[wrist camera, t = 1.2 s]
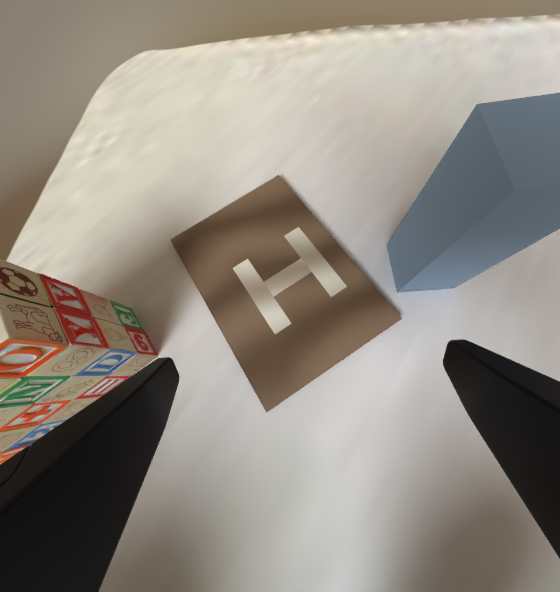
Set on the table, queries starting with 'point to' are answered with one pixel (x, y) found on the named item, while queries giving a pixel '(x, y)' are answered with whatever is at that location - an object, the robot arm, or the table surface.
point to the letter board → (281, 290)
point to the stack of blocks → (58, 353)
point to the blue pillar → (483, 196)
